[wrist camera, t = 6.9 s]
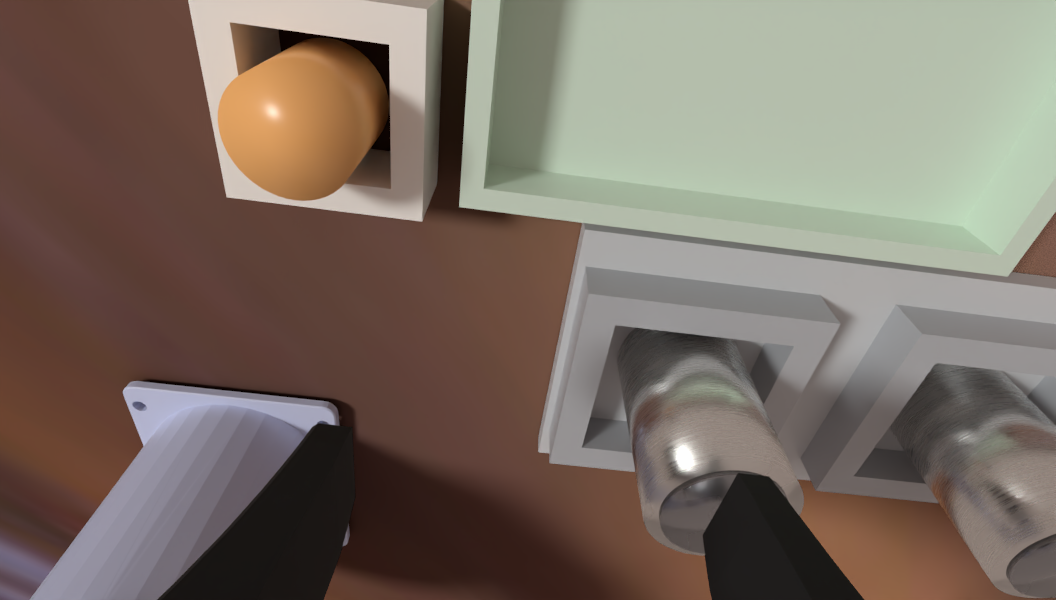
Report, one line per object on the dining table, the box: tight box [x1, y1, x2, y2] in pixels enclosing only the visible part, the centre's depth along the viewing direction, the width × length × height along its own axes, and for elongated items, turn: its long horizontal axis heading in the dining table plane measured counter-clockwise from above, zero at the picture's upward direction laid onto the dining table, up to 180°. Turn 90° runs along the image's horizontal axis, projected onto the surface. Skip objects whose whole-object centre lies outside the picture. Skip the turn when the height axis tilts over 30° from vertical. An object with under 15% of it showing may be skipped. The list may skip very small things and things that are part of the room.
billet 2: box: [889, 363, 1056, 598], centre depth 18 cm, size 4×4×6 cm
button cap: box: [218, 38, 389, 201], centre depth 13 cm, size 3×3×3 cm
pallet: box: [538, 223, 1056, 503], centre depth 20 cm, size 10×18×2 cm, turn 83°
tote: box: [459, 0, 1056, 277], centre depth 14 cm, size 8×15×2 cm, turn 83°
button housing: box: [188, 0, 444, 222], centre depth 14 cm, size 5×5×2 cm
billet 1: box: [617, 328, 804, 555], centre depth 17 cm, size 4×4×6 cm
